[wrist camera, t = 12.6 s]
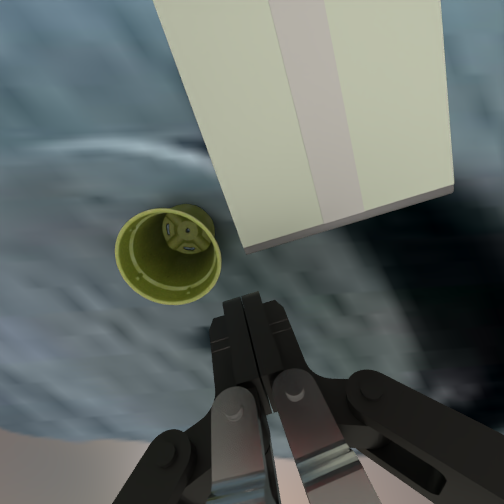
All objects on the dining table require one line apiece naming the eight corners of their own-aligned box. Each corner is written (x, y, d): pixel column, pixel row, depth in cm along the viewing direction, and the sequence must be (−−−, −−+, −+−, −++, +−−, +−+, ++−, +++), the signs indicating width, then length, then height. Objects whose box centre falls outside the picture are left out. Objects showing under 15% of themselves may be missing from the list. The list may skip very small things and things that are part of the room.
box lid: (247, 251, 24) (246, 257, 23) (158, 6, 18) (151, -2, 17) (444, 191, 22) (455, 195, 21) (418, -107, 16) (432, -127, 15)
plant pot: (230, 266, 36) (223, 305, 28) (153, 266, 36) (124, 305, 28) (227, 189, 32) (218, 208, 24) (142, 189, 32) (104, 208, 24)
